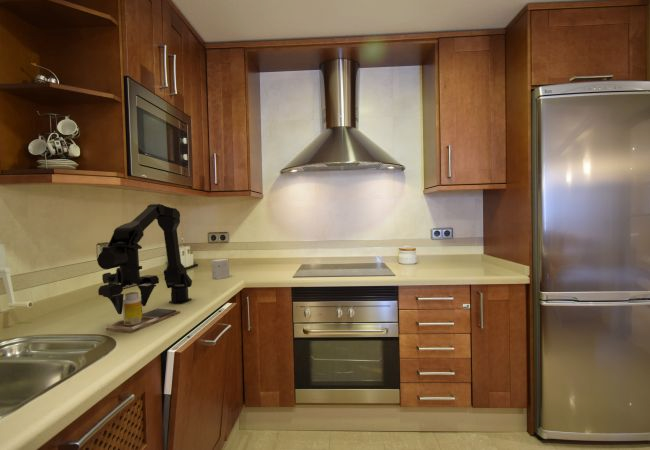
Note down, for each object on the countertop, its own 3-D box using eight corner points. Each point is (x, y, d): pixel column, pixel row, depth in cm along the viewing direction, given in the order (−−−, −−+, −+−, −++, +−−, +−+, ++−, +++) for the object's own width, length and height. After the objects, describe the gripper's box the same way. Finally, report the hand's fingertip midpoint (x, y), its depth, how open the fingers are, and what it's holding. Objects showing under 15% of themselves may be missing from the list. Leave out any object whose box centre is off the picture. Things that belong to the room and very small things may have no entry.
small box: (224, 276, 196) (224, 258, 196) (229, 277, 192) (228, 259, 192) (211, 278, 191) (210, 260, 190) (216, 279, 187) (215, 261, 186)
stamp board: (157, 311, 130) (157, 307, 130) (180, 313, 127) (180, 309, 126) (106, 330, 111) (105, 325, 110) (131, 333, 107) (130, 328, 107)
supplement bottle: (145, 322, 114) (143, 292, 114) (127, 327, 110) (125, 296, 110) (139, 319, 118) (137, 290, 117) (121, 323, 114) (119, 293, 113)
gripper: (135, 259, 124) (138, 301, 125) (84, 268, 107) (87, 316, 108) (158, 259, 121) (161, 303, 121) (109, 269, 103) (113, 319, 104)
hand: (132, 310), depth 114 cm, fingers open, 9 cm apart
